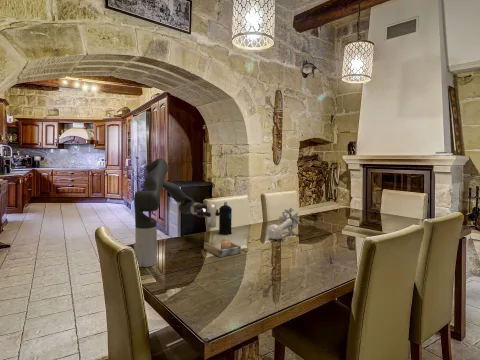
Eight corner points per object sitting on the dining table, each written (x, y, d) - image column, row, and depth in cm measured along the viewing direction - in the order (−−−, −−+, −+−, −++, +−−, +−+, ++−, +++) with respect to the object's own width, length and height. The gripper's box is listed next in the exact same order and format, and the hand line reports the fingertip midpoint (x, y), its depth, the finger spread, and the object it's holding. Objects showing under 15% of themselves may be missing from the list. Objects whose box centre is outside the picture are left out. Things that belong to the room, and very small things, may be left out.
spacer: (224, 254, 159) (224, 243, 158) (218, 252, 163) (219, 240, 163) (232, 253, 162) (232, 241, 161) (227, 250, 166) (227, 239, 165)
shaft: (209, 228, 170) (210, 205, 169) (205, 226, 174) (205, 204, 173) (217, 226, 173) (217, 205, 172) (213, 225, 176) (213, 203, 176)
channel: (219, 257, 155) (219, 250, 155) (204, 248, 168) (204, 242, 168) (240, 253, 162) (240, 246, 162) (223, 245, 175) (224, 239, 175)
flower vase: (279, 252, 186) (302, 234, 203) (280, 225, 179) (303, 208, 196) (262, 244, 194) (285, 227, 211) (262, 217, 187) (286, 202, 204)
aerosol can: (220, 235, 197) (220, 203, 195) (217, 232, 205) (217, 201, 203) (233, 234, 199) (233, 202, 197) (230, 231, 207) (230, 200, 205)
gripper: (188, 204, 180) (202, 208, 166) (210, 202, 188) (225, 206, 174) (187, 217, 180) (202, 223, 167) (210, 215, 189) (225, 220, 175)
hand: (214, 214), depth 170 cm, fingers closed on shaft, 4 cm apart
